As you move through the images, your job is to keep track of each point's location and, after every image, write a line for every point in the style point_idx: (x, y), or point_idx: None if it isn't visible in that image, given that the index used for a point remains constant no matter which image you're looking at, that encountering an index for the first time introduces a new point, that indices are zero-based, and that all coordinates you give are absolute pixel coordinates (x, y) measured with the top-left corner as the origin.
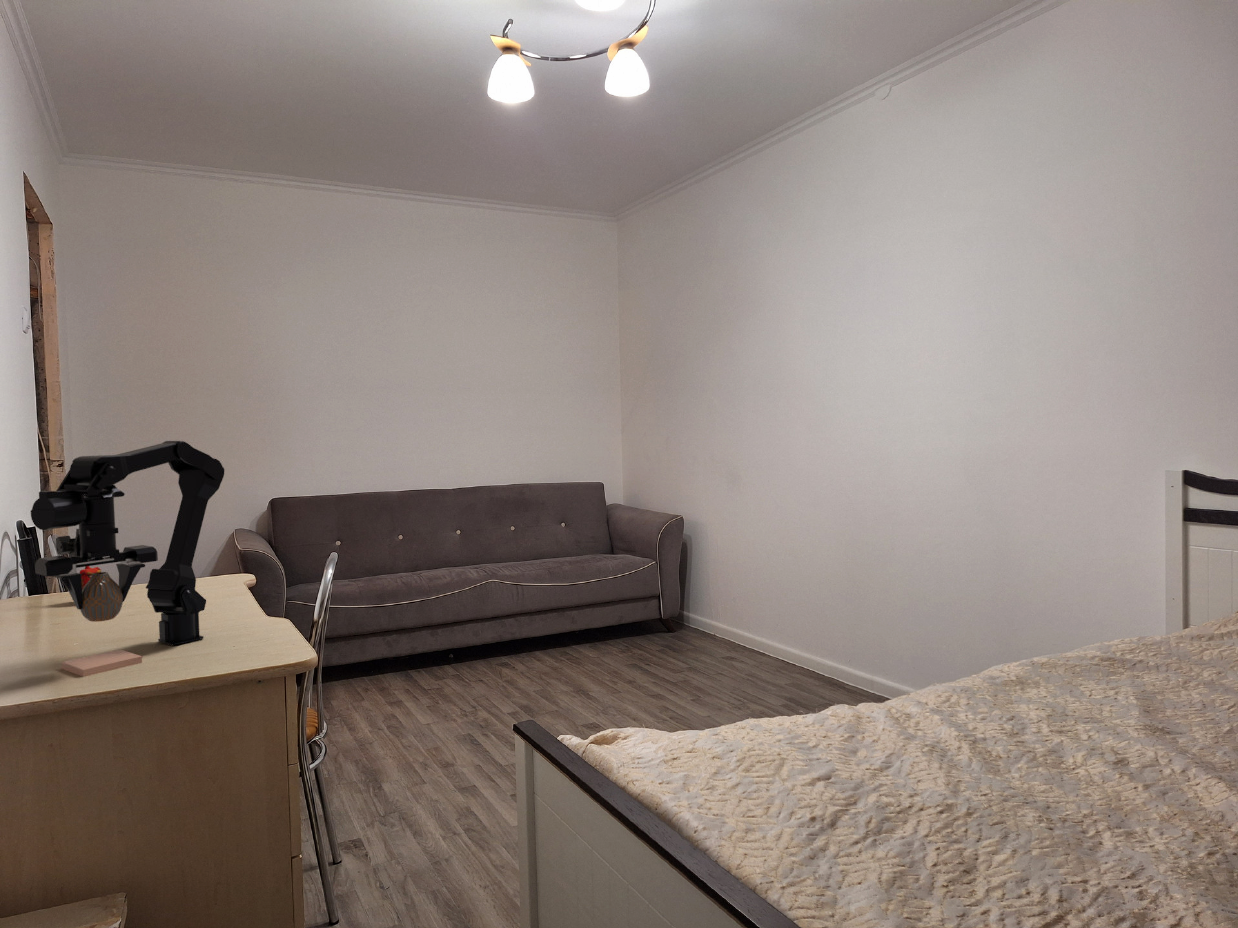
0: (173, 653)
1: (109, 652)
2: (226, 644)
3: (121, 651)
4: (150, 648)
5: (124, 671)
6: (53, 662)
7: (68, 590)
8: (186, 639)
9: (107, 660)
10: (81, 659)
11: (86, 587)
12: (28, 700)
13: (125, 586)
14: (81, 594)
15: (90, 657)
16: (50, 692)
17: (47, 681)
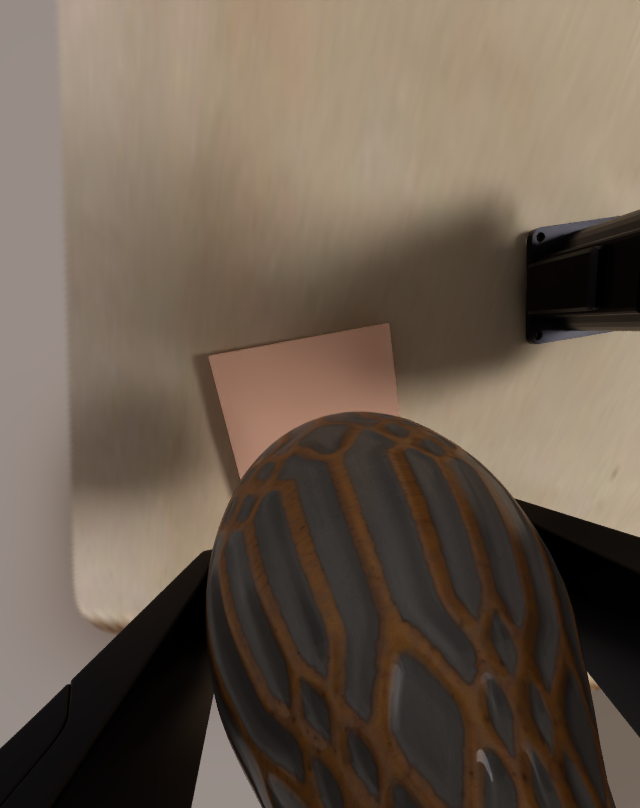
0: (489, 428)
1: (353, 344)
2: (615, 439)
3: (384, 360)
4: (474, 310)
5: None
6: (200, 241)
7: (45, 718)
8: (578, 331)
9: None
10: (264, 371)
11: (246, 777)
12: (112, 609)
13: (596, 677)
14: (193, 766)
15: (292, 367)
16: (161, 579)
17: (163, 474)
